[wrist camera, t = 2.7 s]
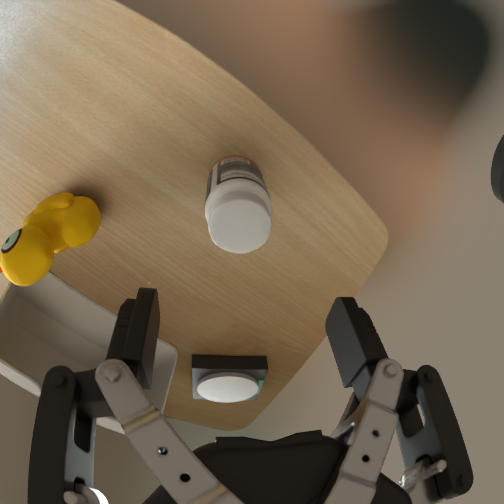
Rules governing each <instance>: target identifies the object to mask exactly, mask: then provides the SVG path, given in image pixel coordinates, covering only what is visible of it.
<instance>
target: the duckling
mask: <svg viewBox="0 0 504 504" xmlns="http://www.w3.org/2000/svg"><path fill="white" fill-rule="evenodd" d="M100 222H101V217H100V212H99V209H98V207H97V205H96V204H95V202H94V201H93V200H91V199H90V198H87V197H83V196H75V197H74V196H73V194H71V193H68V192H64V193H58V194H55V195H53V196H50V197H48V198H46V199H44V200H43V201H42V202H41V203H39V204H38V206H37V207H36V209H35V210H34V211H32V212H31V213H30V214H29V215H28V216H27V218H26V219H25V221H24V223H23V226H22V228H21V229H19V230H17V231H16V232H14V233H13V234H12V235H11V236H10V237H9V238H8V239H7V240H6V242H5V243H4V245H3V247H2V249H1V252H0V273H1V272H3V273H4V275H5V276H6V277H7V278H8V279H9V280H10V281H11V282H12V283H14V284H15V285H18V286H29V285H32V284H34V283H36V282H38V281H39V280H41V279H42V278H43V277H44V276H45V275H46V274H47V273H48V271H49V270H50V268H51V266H52V263H53V259H54V252H55V253H59V252H62V251H64V250H65V249H67V248H68V247H69V246H71V247H79V246H82V245H84V244H86V243H88V242H89V241H90V240H91V239H92V238H93V236H94V235H95V233H96V232H97V230H98V228H99V226H100Z"/></svg>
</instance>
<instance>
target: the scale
mask: <svg viewBox="0 0 504 504" xmlns="http://www.w3.org/2000/svg"><path fill="white" fill-rule="evenodd" d="M267 371H268V365H267V358H266V356H261V357H251V356H210V355H192V382H193V399H208V400H211V401H216V402H237V401H242V400H257V397H258V395H259V392H260V390H261V387H262V385H263V382H264V379H265V376H266V374H267Z"/></svg>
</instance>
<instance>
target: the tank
mask: <svg viewBox="0 0 504 504" xmlns="http://www.w3.org/2000/svg"><path fill="white" fill-rule="evenodd" d="M117 316H118V315H116V314H114V313H113V312H111V311H109V310H107V309H106V308H104V307H103V306H101V305H99V304H98V303H96V302H94V301H93V300H91V299H90V298H88V297H87V296H85V295H83V294H82V293H80V292H79V291H77V290H76V289H74V288H73V287H71V286H70V285H68V284H67V283H65V282H64V281H62V280H61V279H60V278H58V277H57V276H55V275H54V274H52V273H51V272H50V271H48V273H47V274H46V275H45V276H44V277H43V278H42V279H41V280H39V281H38V282H36V283H34V284H32V285H29V286H18V285H15V284H14V283H12V282H11V281H10V282H9V284H8V286H7V288H6V290H5V292H4V294H3V295H2V297H1V299H0V373H1V374H2V375H4V376H5V377H7V378H8V379H10V380H11V381H13V382H14V383H16V384H18V385H19V386H21V387H23V388H24V389H26V390H28V391H29V392H31V393H33V394H35V395H37V396H38V397H40V394H41V390H42V385H43V381H44V377H45V375H46V373H47V372H48V370H50V369H51V368H52V367H54V366H58V365H63V366H66V367H68V368H70V369H71V370H72V371H73V372H80V371H87V370H92V369H95V368H97V367H98V366H99V364H100V363H102V362H103V361H104V360H105V358H106V356H107V352H108V348H109V344H110V341H111V337H112V333H113V330H114V327H115V323H116V319H117ZM177 359H178V353H177V350H176V348H175V347H174V346H173V345H171V344H169V343H167V342H165V341H163V340H162V339H160V338H157V345H156V352H155V359H154V366H153V374H152V382H151V390H147V389H144V392H145V393H146V395H147V396H148V398H149V399H150V401H151V402H152V403H153V405H154V406H155V407H156V408H157V409H158V410H159V411H160V412H161V413H162V414H163V410H164V407H165V403H166V399H167V395H168V392H169V388H170V384H171V380H172V377H173V373H174V370H175V366H176V363H177ZM96 424H98V425H101V426H103V427H106V428H109V429H111V430H114V431H117V432H120V433H123V434H125V433H124V431H123V429H122V427H121V425H120V423H119V422H118V420H117V418H116V417H115V416H109V417H102V418H97V419H96ZM125 435H126V434H125Z"/></svg>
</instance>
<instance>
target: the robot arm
mask: <svg viewBox="0 0 504 504" xmlns="http://www.w3.org/2000/svg"><path fill="white" fill-rule="evenodd" d="M159 325H160V310H159V301H158V292H157V289H154V288H142V287H140V288H139V290H138V294H137V298H136V299H127V300H126V301H125V302H124V303H123V304H122V305H121V307H120V309H119V313H118V316H117V319H116V323H115V327H114V330H113V333H112V337H111V341H110V344H109V348H108V352H107V356H106V358H105V360H104V361H103V362H102V363H100V364H99V366H98V367H97V368H95V369H92V370H87V371H80V372H73V371H72V370H71V369H70V368H68V367H66V366H63V365H58V366H54V367H52V368H51V369H50V370H48V372H47V373H46V375H45V377H44V381H43V385H42V390H41V394H40V398H39V403H38V408H37V413H36V419H35V424H34V431H33V437H32V445H31V453H30V463H29V476H28V504H108V502H107V500H106V498H105V497H104V495H103V494H102V493H101V492H99V491H98V490H96V489H93V461H94V442H95V429H96V419H97V418H102V417H109V416H115V417H116V418H117V420H118V422H119V423H120V425H121V427H122V429H123V431H124V433H125V434H126V436H127V437H128V439H129V440H130V442H131V443H132V445H133V446H134V448H135V449H136V451H137V452H138V454H139V455H140V457H141V458H142V459H143V461H144V462H145V464H146V465H147V466H148V468H149V469H150V470H151V471H152V473H153V474H154V475H155V477H156V478H157V479H158V481H159V482H160V483H161V485H160V486H159V487H158V488H157V489H156V490H155V491H154V492H153V493H152V494H151V495H150V496H149V498H147V499H146V500H145V501H144V502H143V503H142V504H436V503H439V502H443V501H445V500H448V499H451V498H454V497H457V496H460V495H462V494H465V493H466V492H468V491H469V490H470V488H471V486H472V484H473V472H472V468H471V464H470V461H469V457H468V454H467V450H466V447H465V443H464V440H463V437H462V434H461V431H460V428H459V425H458V422H457V419H456V416H455V414H454V411H453V408H452V406H451V403H450V400H449V397H448V395H447V392H446V390H445V387H444V385H443V382H442V380H441V378H440V375H439V373H438V372H437V370H436V369H435V368H433V367H432V366H430V365H423V366H421V367H420V368H419V369H418V370H417V371H412V370H406V369H402V367H401V365H400V364H399V363H398V362H396V361H395V360H393V359H390V358H388V356H387V353H386V351H385V349H384V347H383V344H382V342H381V340H380V338H379V335H378V333H376V329H375V327H374V326H373V323H372V320H371V319H370V316H369V315H368V314H367V313H366V312H365V311H364V310H363V308H359V307H358V305H357V303H356V301H355V299H354V298H353V297H337V298H336V299H335V301H334V304H333V306H332V308H331V310H330V312H329V314H328V316H327V319H326V323H325V328H326V332H327V335H328V338H329V342H330V345H331V347H332V351H333V353H334V357H335V360H336V363H337V366H338V369H339V373H340V376H341V379H342V382H343V386H344V388H348V387H353V389H354V392H353V393H352V395H351V397H350V399H349V402H348V404H347V406H346V408H345V411H344V413H343V415H342V417H341V419H340V422H339V424H338V425H337V427H336V428H335V430H334V431H333V432H332V434H331V435H330V437H329V436H324V435H322V432H321V430H315V431H308V432H301V433H295V434H293V435H290V436H287V437H284V438H281V439H278V440H275V441H264V440H258V439H253V438H248V437H216V440H215V442H213V443H208V444H206V445H203V446H201V447H199V448H197V449H195V450H194V451H191V450H190V449H189V448H188V446H187V445H186V444H185V442H184V441H183V440H182V439H181V438H180V436H179V435H178V434H177V433H176V431H175V430H174V429H173V427H172V426H171V425H170V423H169V422H168V421H167V420H166V418H165V417H164V416H163V414H162V413H161V412H160V411H159V410H158V409H157V408H156V407H155V406H154V405H153V403H152V402H151V401H150V399H149V398H148V396H147V395H146V393H145V392H144V389H147V390H151V382H152V374H153V366H154V359H155V352H156V345H157V338H158V332H159ZM418 404H420V406H421V409H422V413H423V416H424V419H425V425H424V426H423V423H422V420H421V416H420V414H419V411H418V407H417V405H418ZM395 430H396V434H397V438H398V441H399V445H400V449H401V453H402V457H403V462H404V466H405V471H404V473H403V477H402V478H401V479H400V485H401V486H402V487H400V486H399V485H397V484H396V483H395V482H393V481H392V480H390V479H389V478H388V477H386V476H385V475H384V474H382V473H381V472H380V471H381V468H382V466H383V463H384V461H385V458H386V455H387V452H388V449H389V446H390V444H391V440H392V437H393V434H394V431H395Z"/></svg>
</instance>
